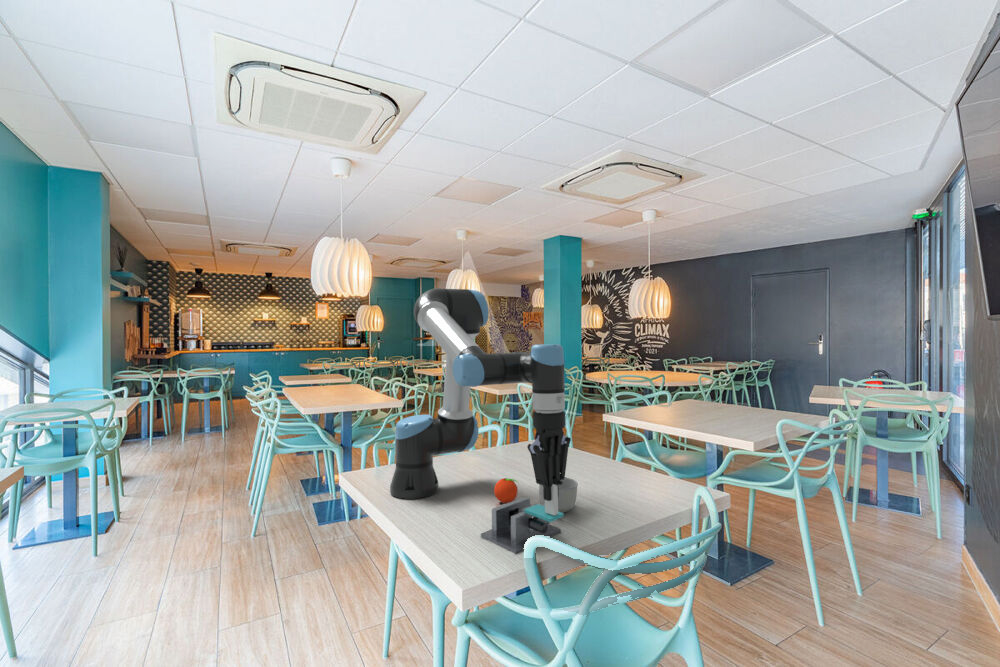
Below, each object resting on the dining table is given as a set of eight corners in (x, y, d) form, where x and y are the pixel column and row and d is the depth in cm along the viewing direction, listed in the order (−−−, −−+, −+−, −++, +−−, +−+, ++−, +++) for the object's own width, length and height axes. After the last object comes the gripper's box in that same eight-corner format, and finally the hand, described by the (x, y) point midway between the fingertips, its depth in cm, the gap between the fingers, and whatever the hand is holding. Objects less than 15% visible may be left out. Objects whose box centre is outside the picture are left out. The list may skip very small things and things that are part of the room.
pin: (499, 524, 115) (498, 506, 115) (511, 519, 118) (511, 502, 119) (538, 540, 106) (538, 521, 106) (550, 534, 109) (550, 516, 109)
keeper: (522, 511, 109) (522, 508, 109) (536, 506, 113) (536, 503, 113) (550, 522, 103) (550, 519, 103) (563, 516, 106) (563, 513, 106)
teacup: (552, 499, 137) (552, 472, 137) (584, 507, 130) (584, 479, 130) (525, 513, 126) (524, 484, 126) (558, 523, 119) (558, 492, 119)
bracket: (480, 536, 112) (480, 509, 112) (525, 518, 123) (525, 493, 123) (515, 553, 103) (515, 523, 103) (560, 532, 114) (560, 504, 114)
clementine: (520, 498, 139) (520, 474, 139) (522, 506, 132) (522, 481, 132) (493, 498, 138) (493, 474, 138) (494, 507, 131) (494, 482, 131)
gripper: (542, 415, 99) (545, 525, 98) (579, 408, 108) (581, 509, 107) (517, 412, 104) (520, 516, 104) (554, 406, 113) (557, 502, 113)
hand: (551, 513), depth 106 cm, fingers closed
